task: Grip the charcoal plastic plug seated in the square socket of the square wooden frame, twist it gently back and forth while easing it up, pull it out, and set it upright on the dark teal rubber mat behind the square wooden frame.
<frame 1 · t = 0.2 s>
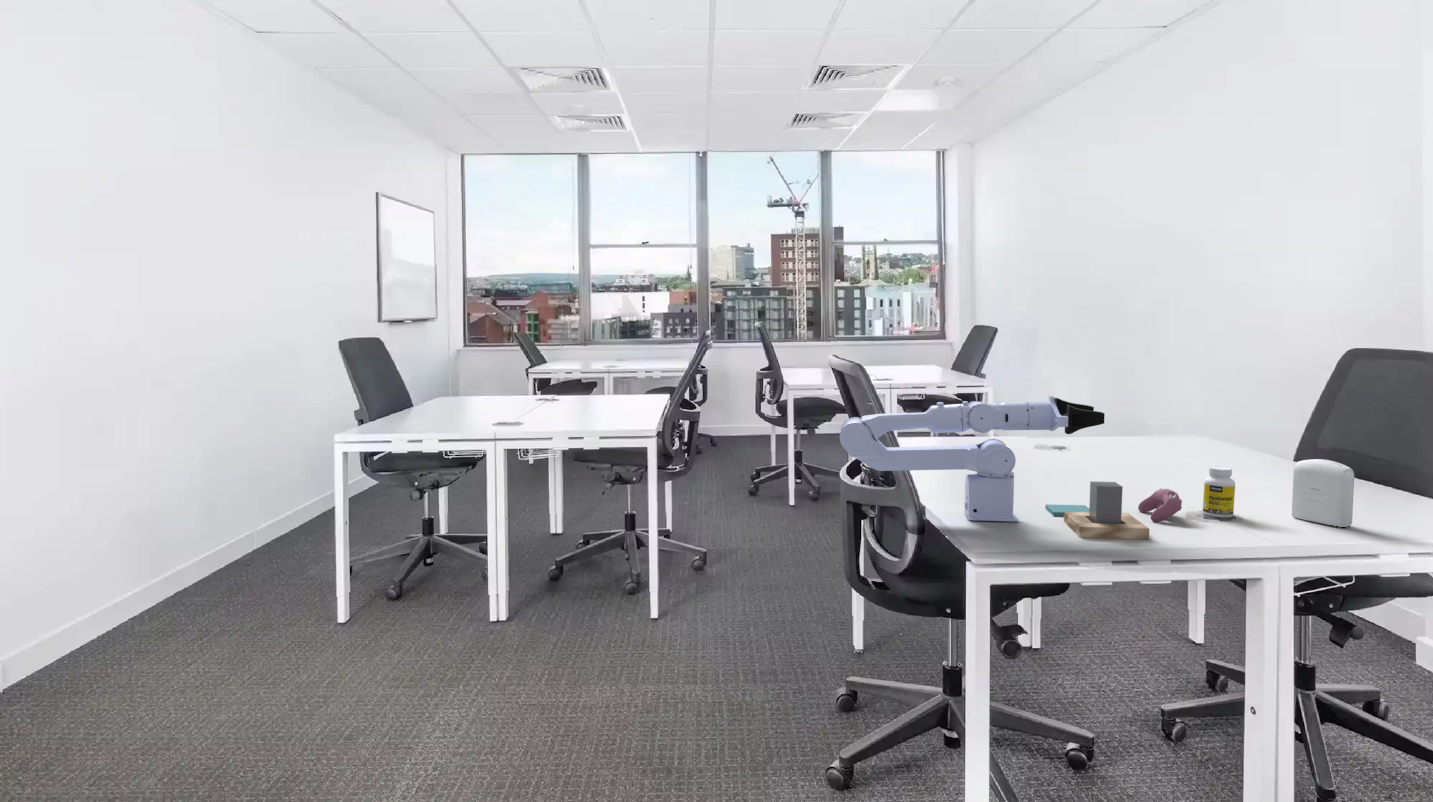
hand: (1098, 414, 164), 21 cm above the table, tool horizontal, fingers open, 7 cm apart
video game controller: (1159, 518, 168), on the table
square wooden frame: (1104, 529, 158), on the table
plug: (1104, 530, 158), resting in square wooden frame
rubber mat: (1069, 512, 173), on the table
photo printer: (1320, 523, 162), on the table
supplement bottle: (1217, 515, 169), on the table
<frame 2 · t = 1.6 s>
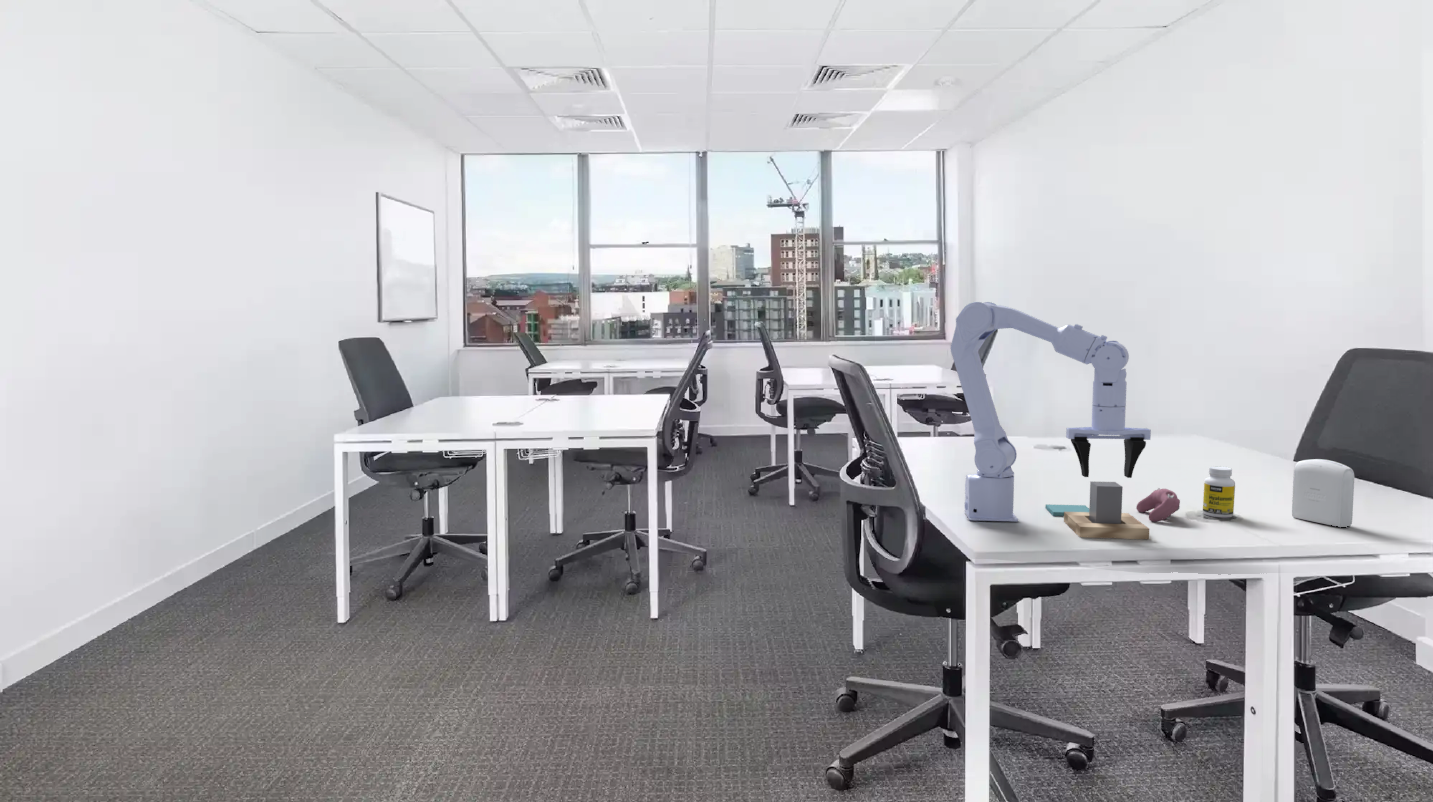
hand: (1106, 476, 157), 10 cm above the table, tool pointing down, fingers open, 7 cm apart
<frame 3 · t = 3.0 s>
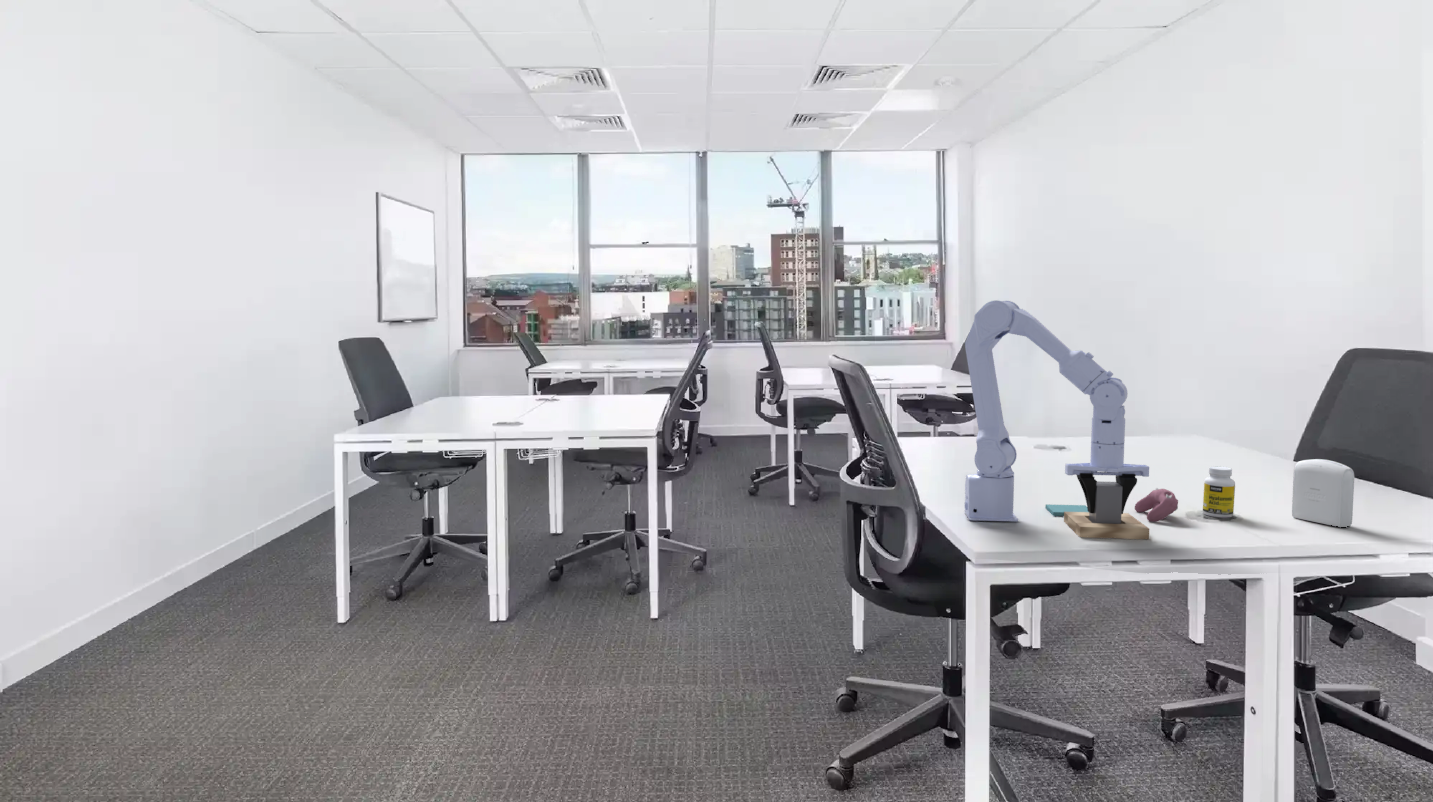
hand: (1105, 512, 158), 3 cm above the table, tool pointing down, fingers closed on plug, 4 cm apart
plug: (1104, 529, 158), resting in square wooden frame, touching gripper
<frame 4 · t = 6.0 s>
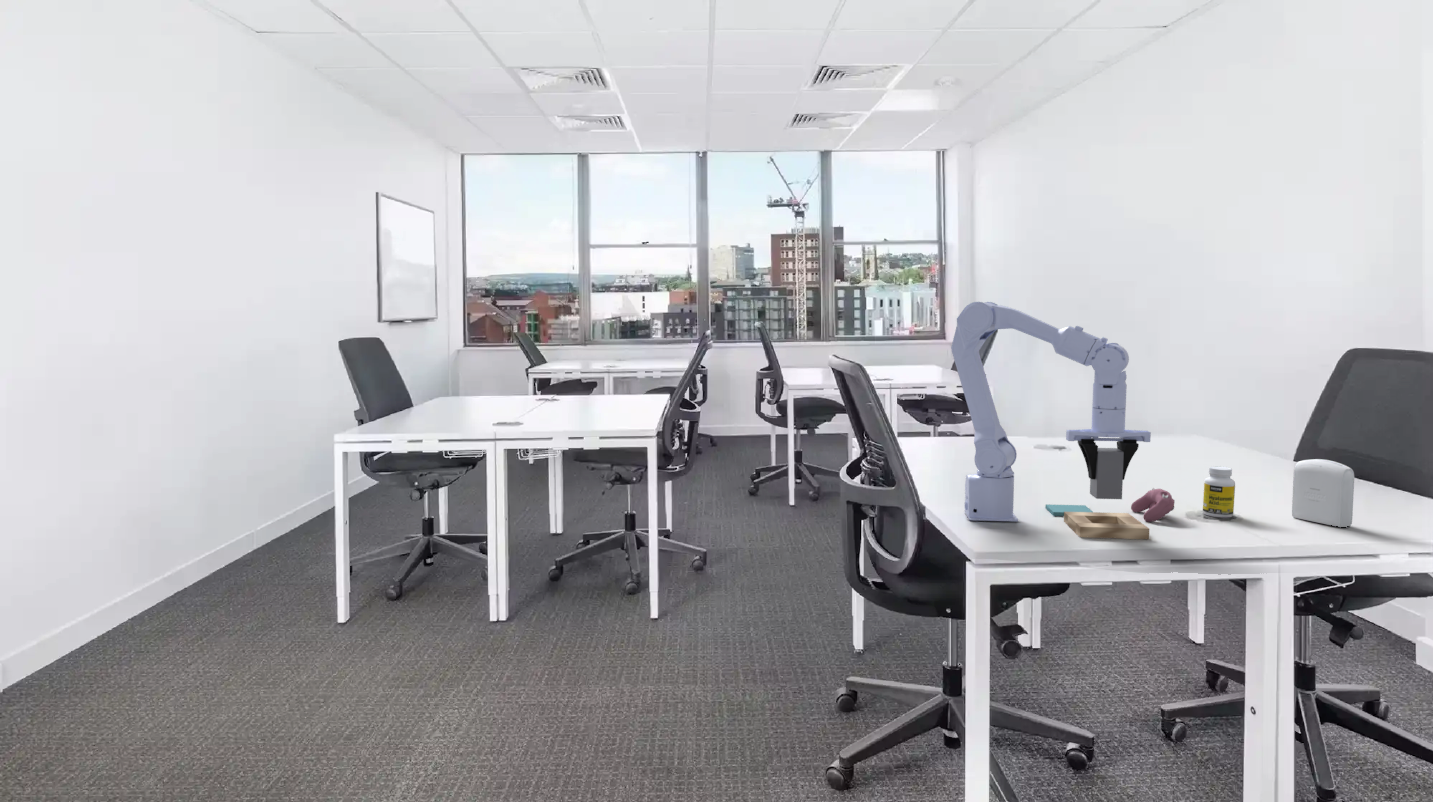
hand: (1106, 478, 157), 10 cm above the table, tool pointing down, fingers closed on plug, 4 cm apart
plug: (1105, 496, 158), point 7 cm above the table, touching gripper
when the fingers open (5 cm above the table, at t = 9.1 s): plug stays where it is, resting on rubber mat.
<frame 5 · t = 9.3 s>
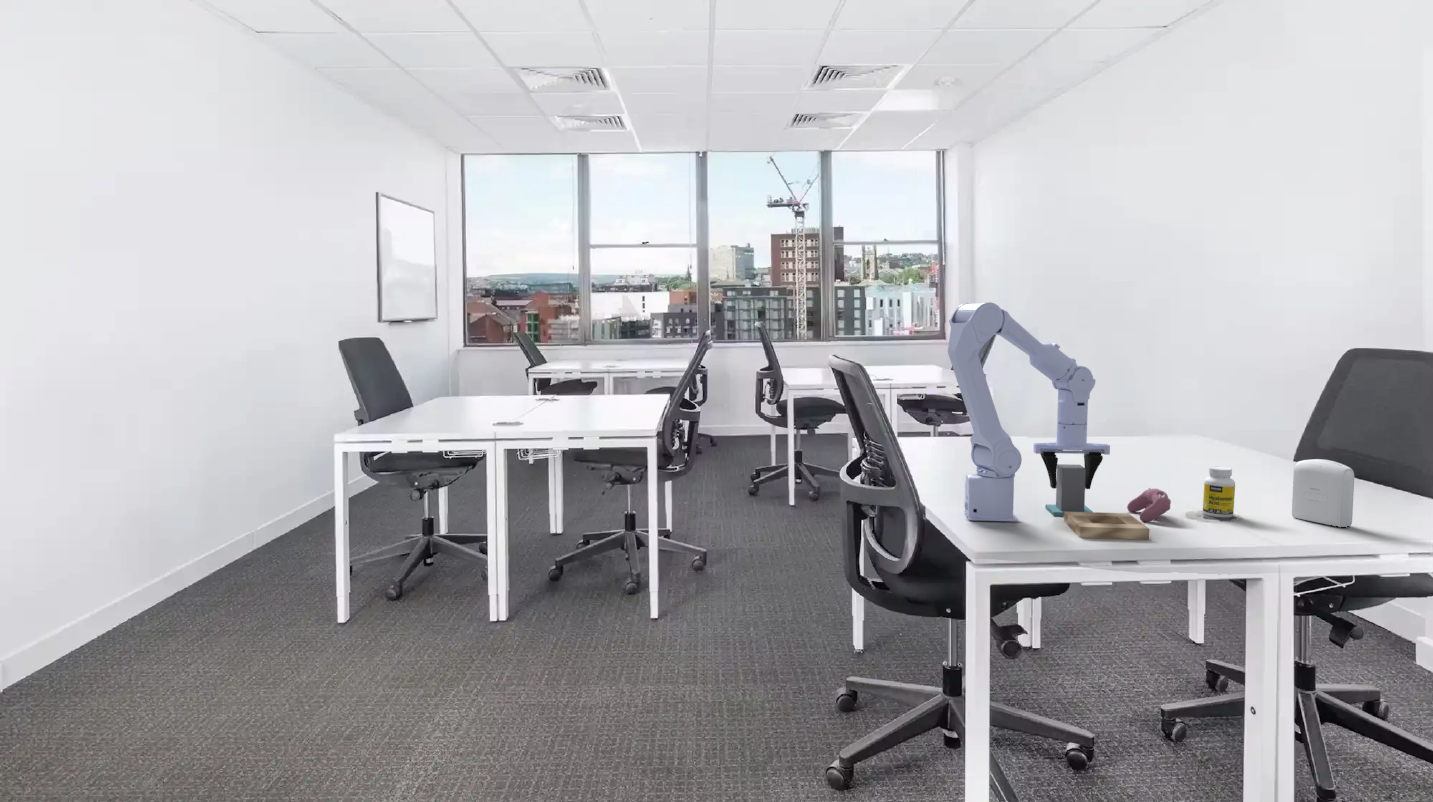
hand: (1070, 487, 172), 5 cm above the table, tool pointing down, fingers open, 6 cm apart
plug: (1069, 508, 172), point 1 cm above the table, touching rubber mat
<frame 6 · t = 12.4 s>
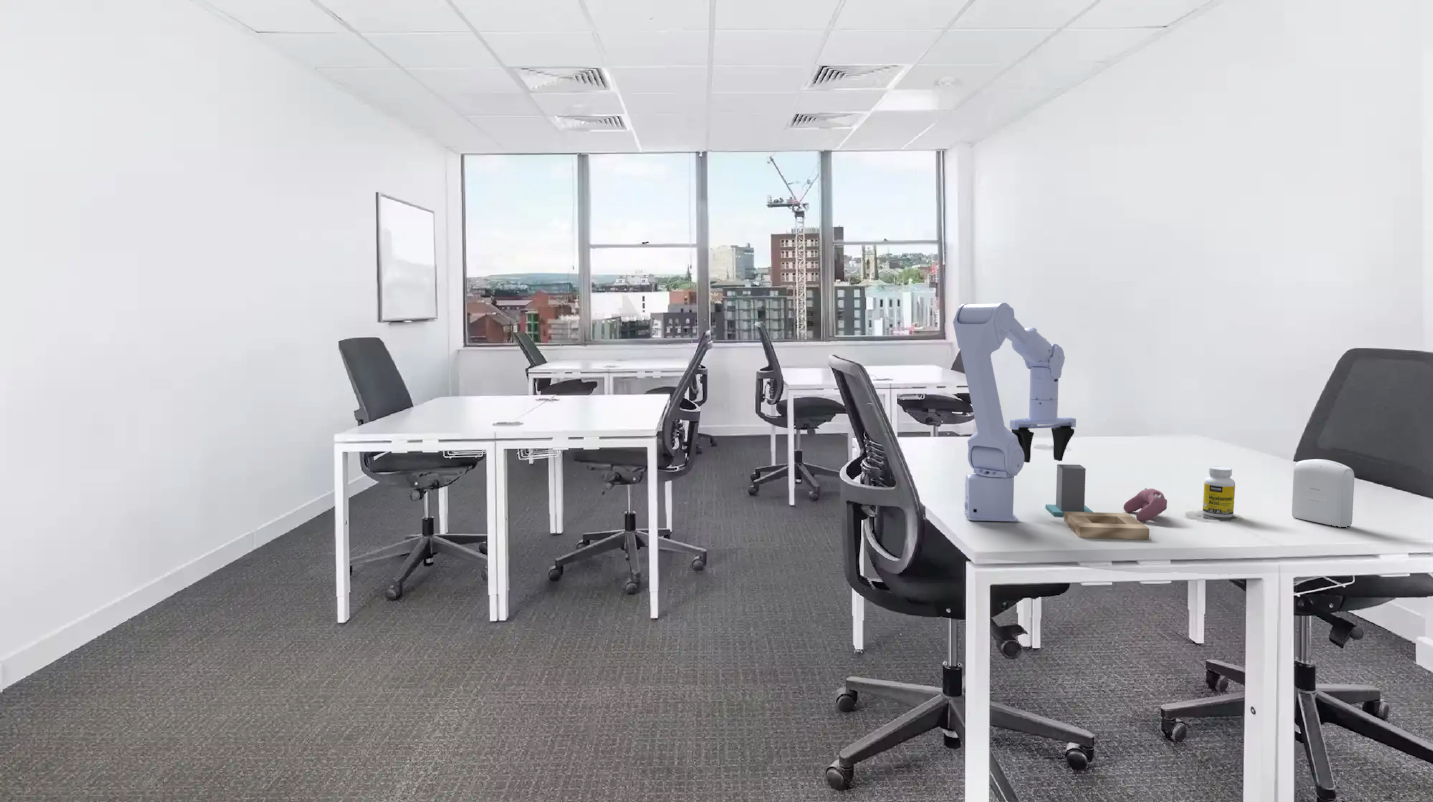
hand: (1041, 461, 180), 9 cm above the table, tool pointing down, fingers open, 7 cm apart
at the end: plug 0.3 cm off-centre on the rubber mat, point 0.8 cm above the rubber mat's base; plug tilted 0°; the gripper is holding nothing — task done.
